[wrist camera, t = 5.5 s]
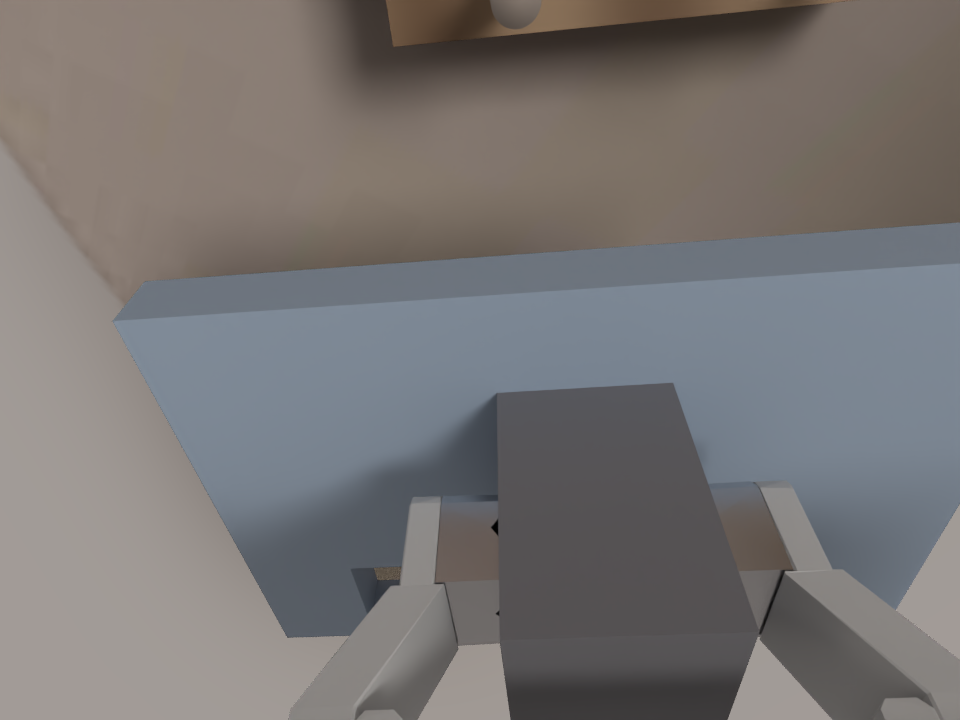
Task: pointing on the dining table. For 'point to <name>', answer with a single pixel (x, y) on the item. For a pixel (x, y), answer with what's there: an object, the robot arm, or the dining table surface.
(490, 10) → the wooden box with pegs
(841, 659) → the robot arm
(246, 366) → the grey peg base plate
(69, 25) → the dining table surface
